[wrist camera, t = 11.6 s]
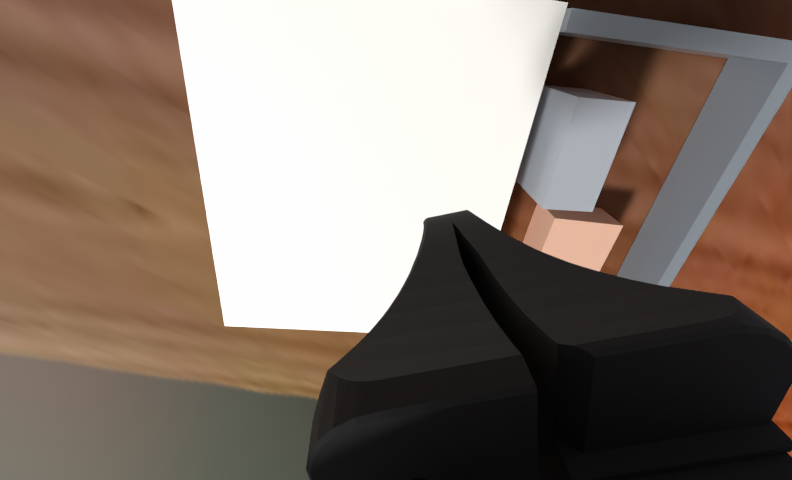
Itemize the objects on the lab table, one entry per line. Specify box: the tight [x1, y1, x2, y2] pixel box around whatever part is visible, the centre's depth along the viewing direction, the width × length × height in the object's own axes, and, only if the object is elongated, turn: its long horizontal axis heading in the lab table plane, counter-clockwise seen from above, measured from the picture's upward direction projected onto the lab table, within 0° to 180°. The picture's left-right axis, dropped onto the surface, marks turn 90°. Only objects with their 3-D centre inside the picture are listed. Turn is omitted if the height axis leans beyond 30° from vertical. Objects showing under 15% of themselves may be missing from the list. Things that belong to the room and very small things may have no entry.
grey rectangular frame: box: [559, 8, 792, 287], centre depth 20 cm, size 11×18×3 cm, turn 173°
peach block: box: [523, 204, 623, 271], centre depth 22 cm, size 4×5×2 cm
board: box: [172, 0, 568, 333], centre depth 19 cm, size 15×18×2 cm
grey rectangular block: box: [516, 85, 636, 212], centre depth 18 cm, size 4×5×2 cm
